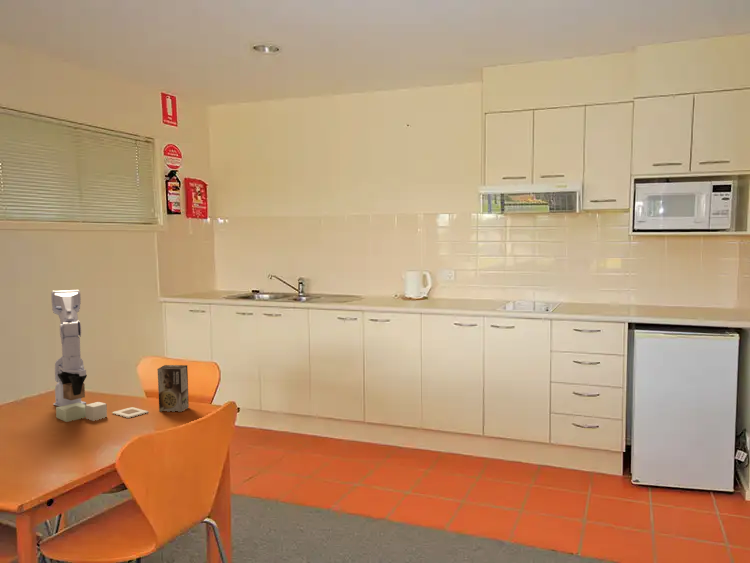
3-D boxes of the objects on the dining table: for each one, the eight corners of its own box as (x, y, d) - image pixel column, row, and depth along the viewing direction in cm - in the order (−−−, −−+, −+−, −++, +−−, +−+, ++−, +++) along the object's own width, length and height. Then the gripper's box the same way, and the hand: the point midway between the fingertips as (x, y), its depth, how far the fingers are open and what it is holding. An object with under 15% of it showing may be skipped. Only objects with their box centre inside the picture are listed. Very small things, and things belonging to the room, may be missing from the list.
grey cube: (85, 418, 208) (85, 404, 208) (99, 415, 212) (98, 401, 212) (93, 421, 205) (93, 407, 205) (107, 417, 210) (106, 403, 209)
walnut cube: (63, 398, 209) (62, 384, 209) (77, 395, 214) (76, 381, 213) (71, 400, 207) (70, 386, 206) (84, 397, 211) (84, 383, 210)
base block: (56, 418, 210) (55, 407, 209) (79, 413, 216) (78, 402, 215) (66, 422, 204) (65, 411, 204) (89, 417, 211) (89, 406, 210)
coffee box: (189, 407, 222) (188, 364, 221) (182, 412, 216) (181, 368, 214) (166, 406, 223) (164, 364, 222) (158, 411, 216) (156, 368, 215)
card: (112, 413, 214) (112, 411, 214) (132, 408, 220) (131, 406, 220) (128, 418, 208) (128, 416, 208) (148, 412, 215) (148, 411, 215)
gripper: (93, 355, 208) (95, 394, 209) (71, 351, 216) (72, 388, 217) (74, 359, 202) (75, 398, 203) (51, 354, 210) (53, 392, 211)
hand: (72, 393), depth 210 cm, fingers closed on walnut cube, 5 cm apart
